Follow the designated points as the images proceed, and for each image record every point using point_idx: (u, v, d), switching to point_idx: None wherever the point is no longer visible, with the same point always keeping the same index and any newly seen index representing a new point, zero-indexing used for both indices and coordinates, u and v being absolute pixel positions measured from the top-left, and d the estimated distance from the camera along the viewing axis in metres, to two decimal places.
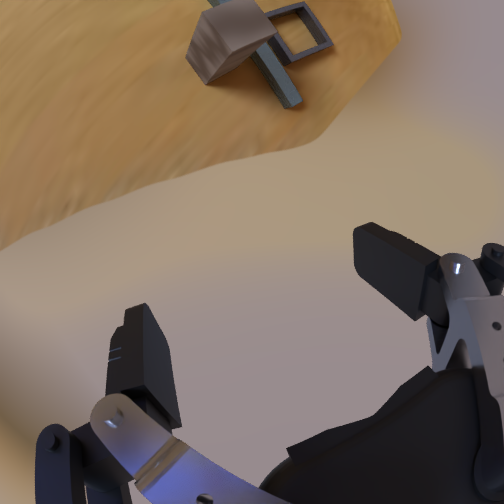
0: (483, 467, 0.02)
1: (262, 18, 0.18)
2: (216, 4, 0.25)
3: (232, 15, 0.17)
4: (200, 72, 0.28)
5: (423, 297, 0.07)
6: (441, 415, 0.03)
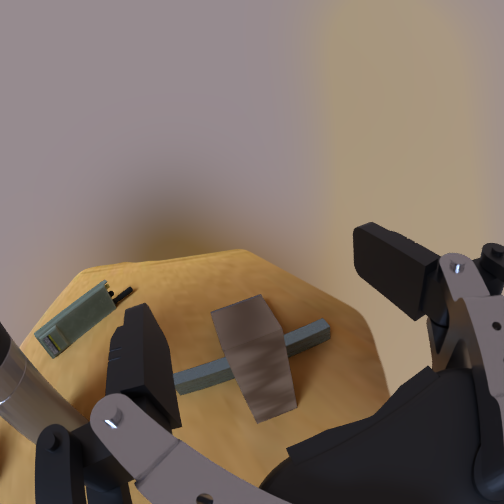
0: (484, 468, 0.02)
1: (243, 305, 0.25)
2: (197, 383, 0.32)
3: (235, 327, 0.22)
4: (282, 406, 0.27)
5: (423, 297, 0.07)
6: (441, 415, 0.03)
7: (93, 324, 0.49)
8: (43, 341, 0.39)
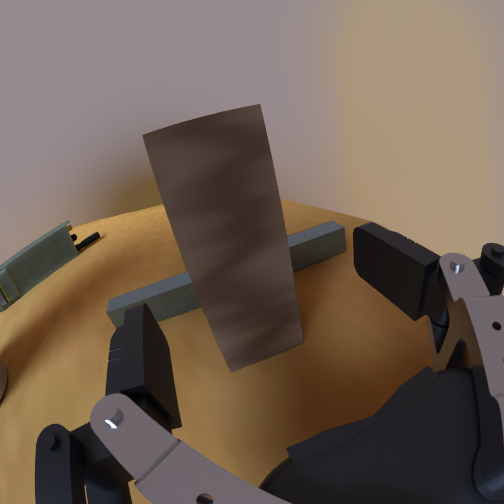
0: (484, 468, 0.02)
1: None
2: None
3: None
4: (275, 334, 0.16)
5: (423, 297, 0.07)
6: (441, 415, 0.03)
7: (50, 272, 0.38)
8: None
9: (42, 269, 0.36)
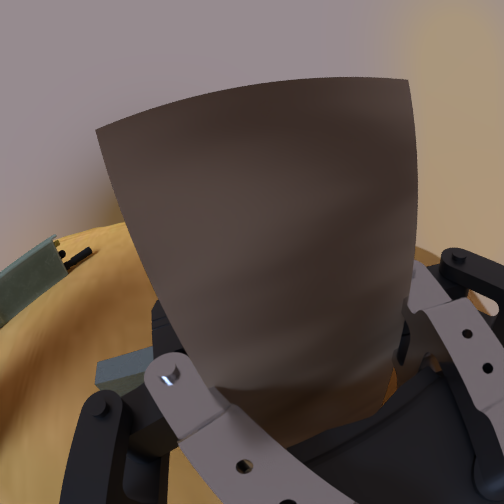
0: (484, 468, 0.02)
1: None
2: None
3: None
4: None
5: None
6: (441, 415, 0.03)
7: (36, 295, 0.31)
8: None
9: (27, 292, 0.29)
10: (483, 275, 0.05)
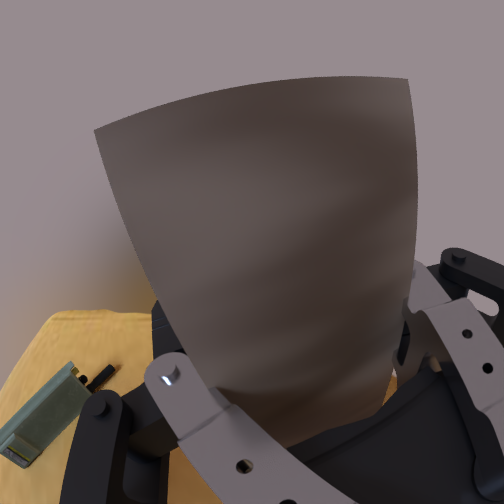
0: (484, 468, 0.02)
1: None
2: None
3: None
4: None
5: None
6: (441, 415, 0.03)
7: (66, 424, 0.25)
8: (4, 453, 0.15)
9: (56, 423, 0.24)
10: (483, 275, 0.05)
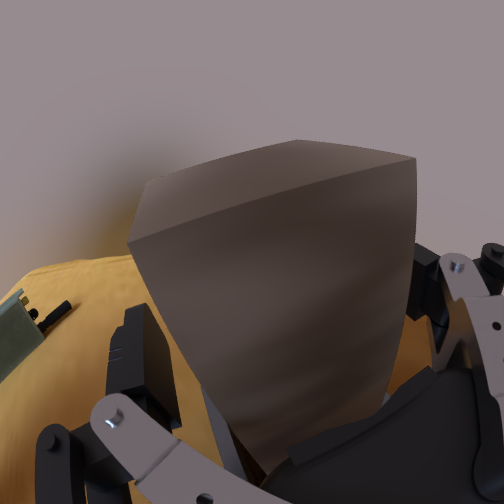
0: (483, 467, 0.02)
1: (247, 153, 0.08)
2: None
3: (215, 179, 0.05)
4: None
5: (423, 297, 0.07)
6: (441, 415, 0.03)
7: (9, 369, 0.19)
8: None
9: None
10: None
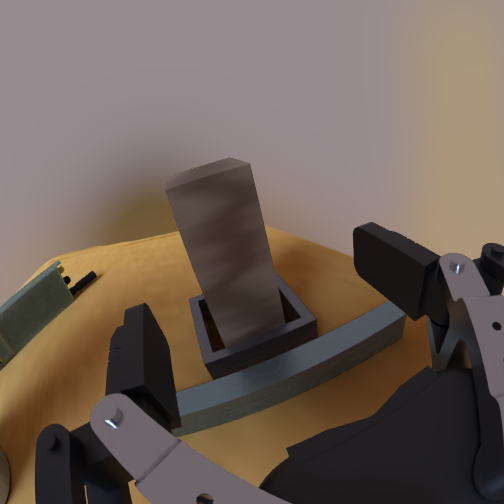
0: (484, 468, 0.02)
1: (206, 165, 0.19)
2: None
3: (189, 175, 0.16)
4: (265, 330, 0.21)
5: (423, 297, 0.07)
6: (441, 415, 0.03)
7: (44, 324, 0.30)
8: None
9: (35, 321, 0.29)
10: None
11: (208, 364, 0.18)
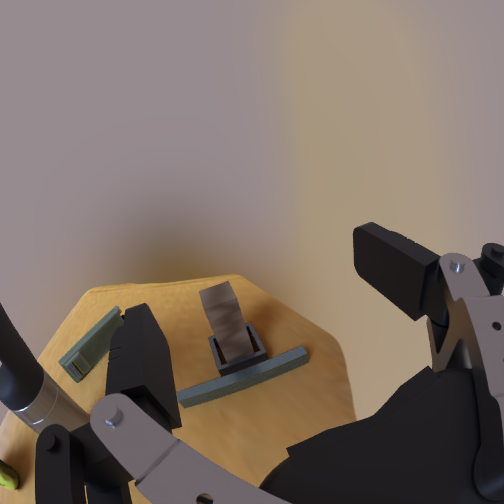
0: (484, 468, 0.02)
1: (217, 286, 0.43)
2: (198, 399, 0.38)
3: (211, 297, 0.41)
4: (245, 355, 0.45)
5: (423, 297, 0.07)
6: (441, 415, 0.03)
7: None
8: (68, 367, 0.43)
9: (105, 346, 0.53)
10: None
11: (219, 370, 0.42)
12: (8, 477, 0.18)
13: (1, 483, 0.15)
